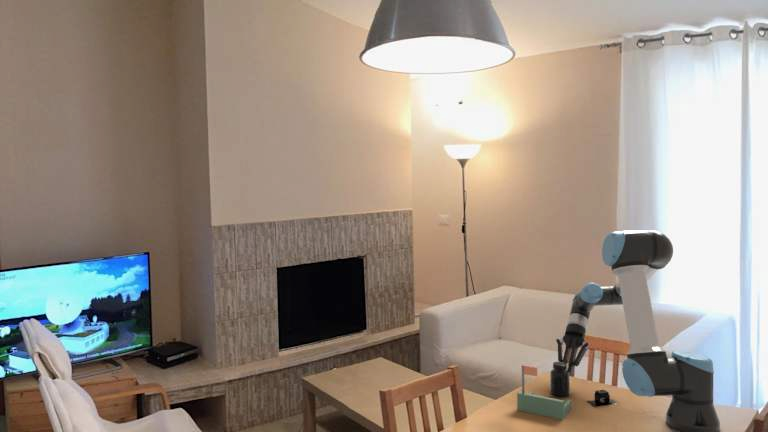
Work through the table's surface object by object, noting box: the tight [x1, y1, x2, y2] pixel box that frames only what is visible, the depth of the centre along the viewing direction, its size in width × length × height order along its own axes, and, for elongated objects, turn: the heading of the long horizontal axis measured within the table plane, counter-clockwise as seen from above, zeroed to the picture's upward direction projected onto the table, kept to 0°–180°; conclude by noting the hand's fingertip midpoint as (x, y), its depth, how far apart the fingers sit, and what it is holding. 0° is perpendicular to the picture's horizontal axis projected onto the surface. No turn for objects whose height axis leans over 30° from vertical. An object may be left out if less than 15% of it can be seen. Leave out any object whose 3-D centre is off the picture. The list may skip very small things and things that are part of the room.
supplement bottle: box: [549, 361, 571, 399], centre depth 211 cm, size 7×7×12 cm
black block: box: [586, 389, 619, 408], centre depth 203 cm, size 12×7×5 cm, turn 104°
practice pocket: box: [516, 364, 573, 421], centre depth 198 cm, size 10×16×16 cm, turn 55°
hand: (563, 380), depth 217 cm, fingers closed
